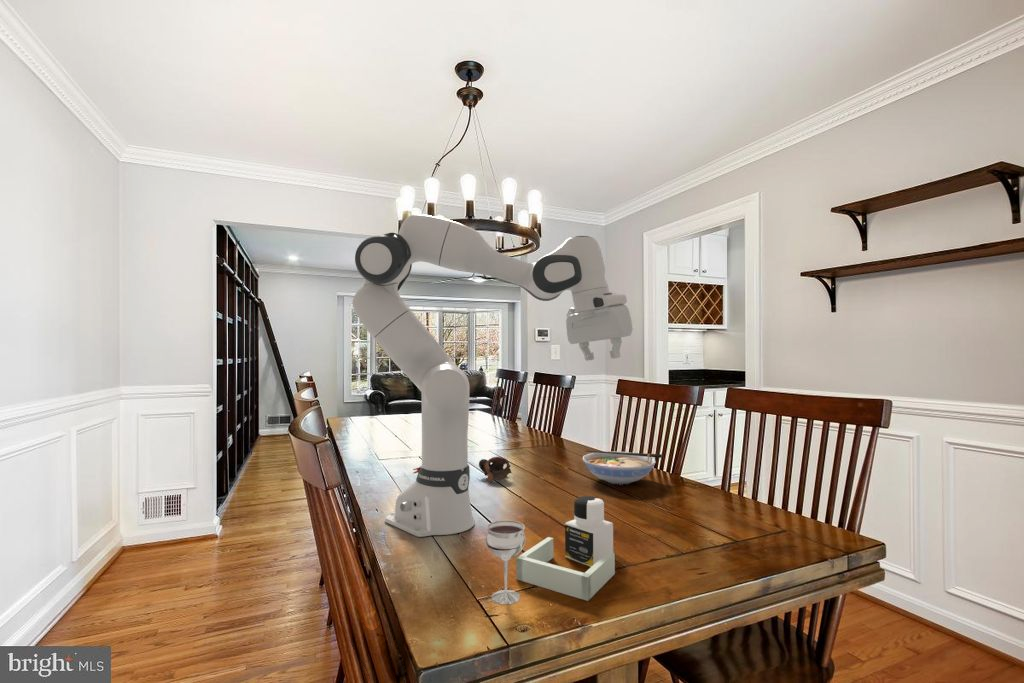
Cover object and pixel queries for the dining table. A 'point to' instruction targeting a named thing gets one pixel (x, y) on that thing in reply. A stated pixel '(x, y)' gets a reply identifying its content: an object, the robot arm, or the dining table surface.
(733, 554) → the dining table surface
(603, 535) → the medicine bottle
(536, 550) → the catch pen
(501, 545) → the wineglass
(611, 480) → the ramen bowl
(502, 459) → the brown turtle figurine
